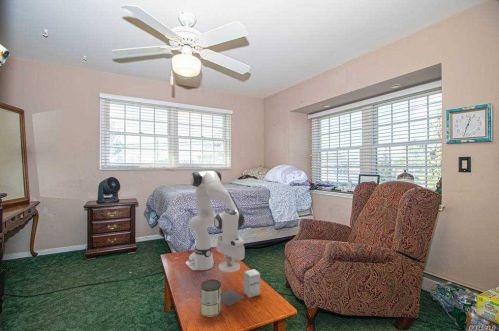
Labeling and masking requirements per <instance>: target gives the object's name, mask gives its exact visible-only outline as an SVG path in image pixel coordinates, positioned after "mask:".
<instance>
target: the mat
mask: <svg viewBox="0 0 499 331" xmlns="http://www.w3.org/2000/svg"><path fill="white" fill-rule="evenodd" d="M244 298H245V296H244V295H242V294H239V293H238V292H236V291H234V290H232V289H229V290H227V291H224V292H221V302H222V303H223V304H224V305H226V306H228V307H230V306H232V305H234V304H235V303H237V302H240V301H241V300H242V299H244Z"/></svg>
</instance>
